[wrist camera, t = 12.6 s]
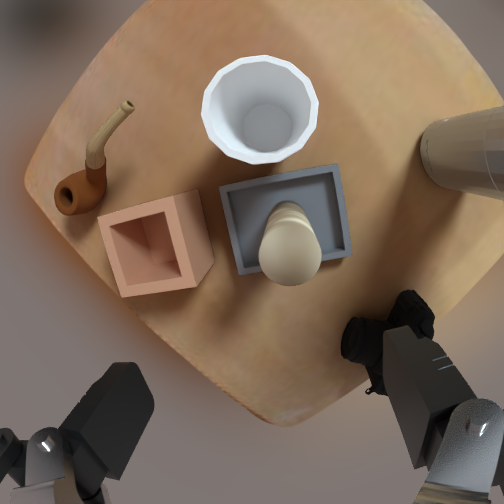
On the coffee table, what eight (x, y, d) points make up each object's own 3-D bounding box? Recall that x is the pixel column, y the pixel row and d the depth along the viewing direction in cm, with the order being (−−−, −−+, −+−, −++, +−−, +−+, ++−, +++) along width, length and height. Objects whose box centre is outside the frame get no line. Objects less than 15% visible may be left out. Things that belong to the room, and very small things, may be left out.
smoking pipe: (104, 211, 40) (82, 186, 40) (163, 105, 31) (133, 80, 30) (68, 229, 34) (46, 201, 34) (121, 108, 24) (91, 80, 24)
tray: (334, 164, 35) (338, 163, 32) (348, 250, 37) (352, 255, 35) (222, 185, 37) (218, 186, 34) (241, 268, 40) (238, 275, 37)
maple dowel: (302, 197, 36) (316, 220, 20) (308, 232, 37) (325, 280, 21) (266, 203, 36) (252, 232, 21) (273, 239, 37) (265, 290, 22)
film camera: (367, 273, 38) (388, 301, 30) (423, 291, 38) (451, 320, 29) (326, 363, 43) (333, 403, 34) (380, 374, 42) (394, 412, 34)
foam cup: (278, 180, 36) (276, 186, 24) (214, 140, 35) (180, 128, 23) (320, 117, 33) (339, 92, 21) (256, 79, 33) (242, 38, 20)
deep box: (197, 188, 37) (173, 195, 29) (215, 260, 40) (196, 286, 31) (133, 206, 39) (97, 217, 30) (151, 272, 41) (121, 297, 32)
